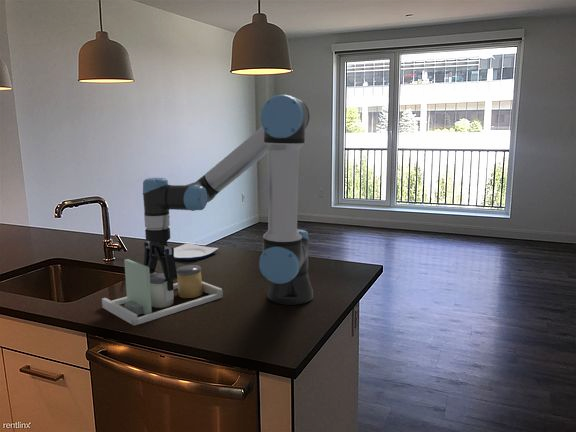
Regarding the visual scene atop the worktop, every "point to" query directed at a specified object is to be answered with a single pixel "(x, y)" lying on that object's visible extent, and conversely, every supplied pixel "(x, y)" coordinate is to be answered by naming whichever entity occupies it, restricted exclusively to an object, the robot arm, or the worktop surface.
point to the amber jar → (189, 281)
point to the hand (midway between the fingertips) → (161, 296)
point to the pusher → (137, 288)
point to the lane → (134, 320)
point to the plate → (192, 252)
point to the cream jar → (158, 291)
